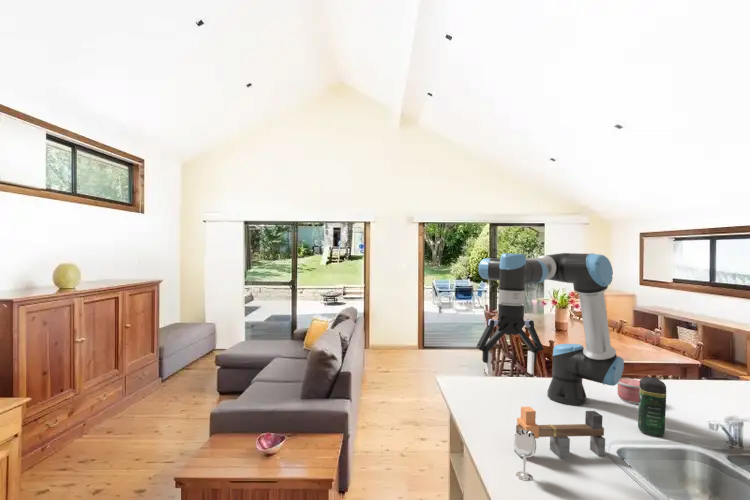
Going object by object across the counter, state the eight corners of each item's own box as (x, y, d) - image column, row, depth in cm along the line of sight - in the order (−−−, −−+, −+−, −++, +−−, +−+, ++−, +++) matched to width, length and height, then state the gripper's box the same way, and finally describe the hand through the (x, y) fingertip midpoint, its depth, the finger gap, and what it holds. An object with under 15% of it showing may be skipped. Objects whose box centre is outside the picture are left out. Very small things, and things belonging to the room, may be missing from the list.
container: (629, 395, 185) (629, 377, 185) (651, 404, 176) (651, 385, 175) (610, 397, 182) (611, 379, 182) (632, 406, 172) (632, 387, 172)
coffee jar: (666, 439, 142) (668, 384, 142) (639, 434, 146) (640, 380, 146) (662, 428, 151) (664, 377, 151) (636, 423, 155) (638, 373, 155)
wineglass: (509, 470, 120) (511, 428, 120) (529, 470, 120) (530, 428, 120) (518, 482, 114) (519, 438, 114) (538, 481, 114) (540, 437, 114)
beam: (513, 449, 132) (514, 410, 132) (594, 448, 135) (595, 409, 135) (521, 459, 126) (523, 418, 126) (606, 457, 129) (607, 417, 129)
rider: (516, 429, 133) (517, 405, 132) (528, 429, 133) (529, 405, 133) (526, 438, 126) (526, 413, 126) (538, 438, 127) (539, 413, 126)
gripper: (476, 305, 123) (473, 377, 124) (556, 306, 126) (554, 376, 126) (467, 301, 131) (465, 369, 131) (544, 302, 133) (541, 369, 134)
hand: (509, 373), depth 129 cm, fingers open, 13 cm apart
